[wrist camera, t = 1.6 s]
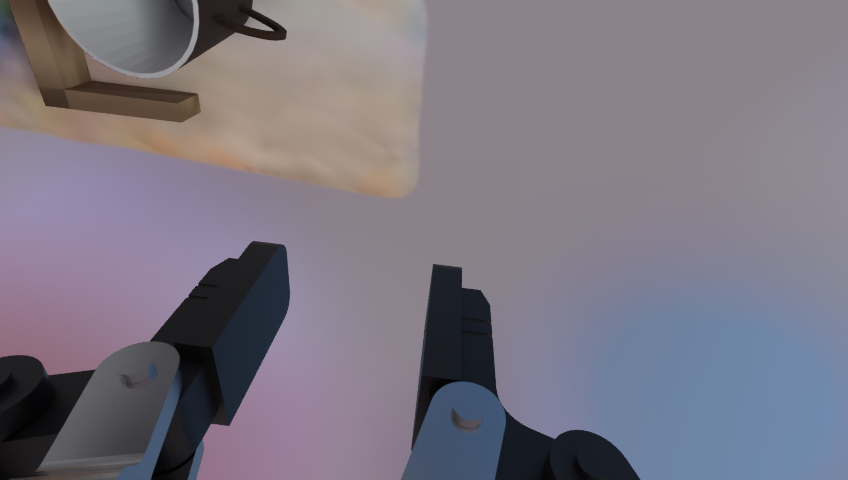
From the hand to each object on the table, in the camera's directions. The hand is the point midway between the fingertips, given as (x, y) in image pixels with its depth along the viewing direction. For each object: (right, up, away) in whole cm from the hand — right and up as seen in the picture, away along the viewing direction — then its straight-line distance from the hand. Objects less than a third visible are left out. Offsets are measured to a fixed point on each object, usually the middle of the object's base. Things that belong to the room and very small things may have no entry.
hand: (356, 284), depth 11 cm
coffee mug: (-13, +19, +22) cm, 32 cm away
